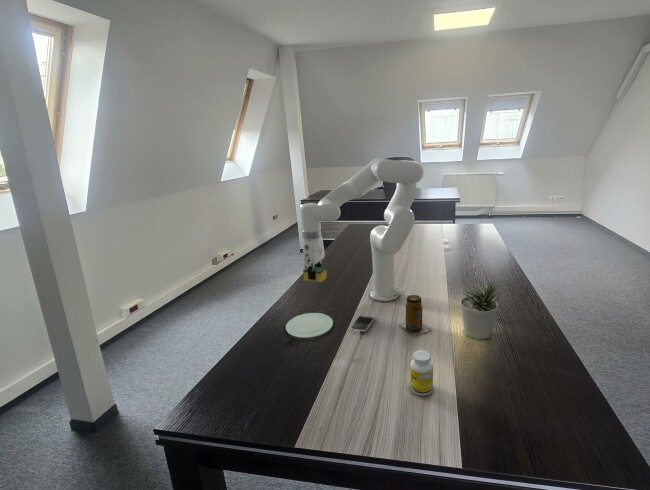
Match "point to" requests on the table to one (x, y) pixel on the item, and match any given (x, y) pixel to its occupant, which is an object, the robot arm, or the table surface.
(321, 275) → the sponge
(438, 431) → the table surface
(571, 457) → the table surface
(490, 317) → the potted plant
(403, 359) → the table surface
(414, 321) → the condiment
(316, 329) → the plate
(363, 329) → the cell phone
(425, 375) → the pill bottle
